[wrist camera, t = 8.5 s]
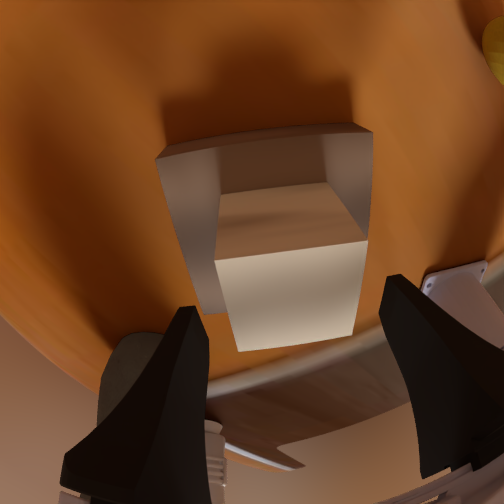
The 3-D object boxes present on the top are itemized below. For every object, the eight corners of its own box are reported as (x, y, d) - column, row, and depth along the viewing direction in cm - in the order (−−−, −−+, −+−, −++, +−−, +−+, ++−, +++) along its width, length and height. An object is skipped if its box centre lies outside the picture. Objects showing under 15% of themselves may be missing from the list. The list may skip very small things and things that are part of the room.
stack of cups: (231, 431, 37) (234, 518, 25) (188, 433, 38) (186, 516, 25) (218, 417, 33) (219, 519, 21) (171, 418, 34) (165, 514, 22)
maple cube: (325, 265, 16) (351, 334, 12) (236, 277, 16) (238, 351, 12) (327, 182, 13) (368, 240, 9) (220, 195, 13) (214, 260, 9)
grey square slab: (346, 263, 20) (359, 292, 17) (206, 283, 20) (203, 314, 18) (350, 121, 14) (373, 132, 11) (169, 143, 14) (155, 159, 12)
